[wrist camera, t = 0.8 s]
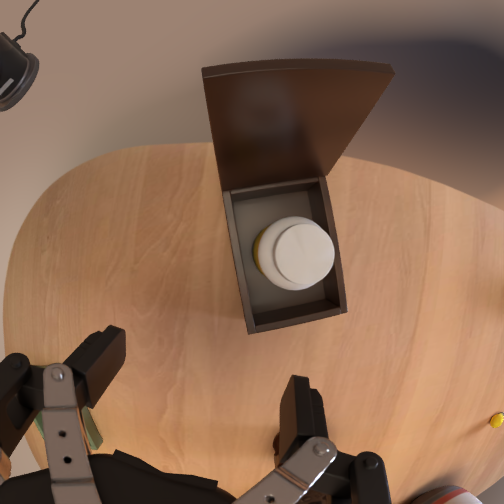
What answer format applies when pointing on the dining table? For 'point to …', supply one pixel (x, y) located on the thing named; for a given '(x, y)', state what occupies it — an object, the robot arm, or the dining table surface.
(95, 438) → the tray
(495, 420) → the yellow rounded lump
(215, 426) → the dining table surface
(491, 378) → the dining table surface
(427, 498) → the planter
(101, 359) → the robot arm
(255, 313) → the brown wooden box
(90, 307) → the dining table surface
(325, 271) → the pill bottle
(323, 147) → the lid
